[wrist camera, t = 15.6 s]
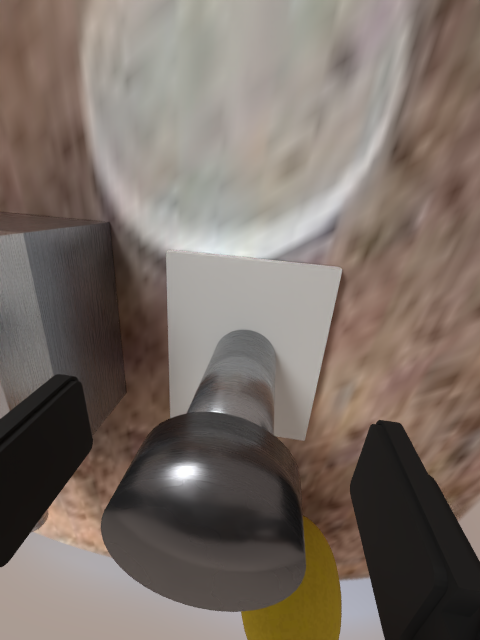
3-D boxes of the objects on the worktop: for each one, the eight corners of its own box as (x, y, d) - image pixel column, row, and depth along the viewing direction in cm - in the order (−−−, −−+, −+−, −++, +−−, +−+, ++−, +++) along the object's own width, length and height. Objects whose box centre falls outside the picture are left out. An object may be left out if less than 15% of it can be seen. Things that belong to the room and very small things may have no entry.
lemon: (301, 545, 21) (312, 729, 14) (234, 514, 21) (209, 686, 13) (345, 504, 19) (386, 697, 12) (270, 469, 18) (265, 645, 11)
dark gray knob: (200, 308, 14) (87, 461, 6) (298, 320, 14) (325, 503, 5) (198, 388, 16) (111, 588, 8) (284, 401, 16) (289, 627, 7)
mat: (170, 249, 14) (166, 251, 13) (339, 266, 13) (342, 269, 12) (173, 413, 18) (170, 419, 17) (303, 433, 17) (304, 440, 16)
